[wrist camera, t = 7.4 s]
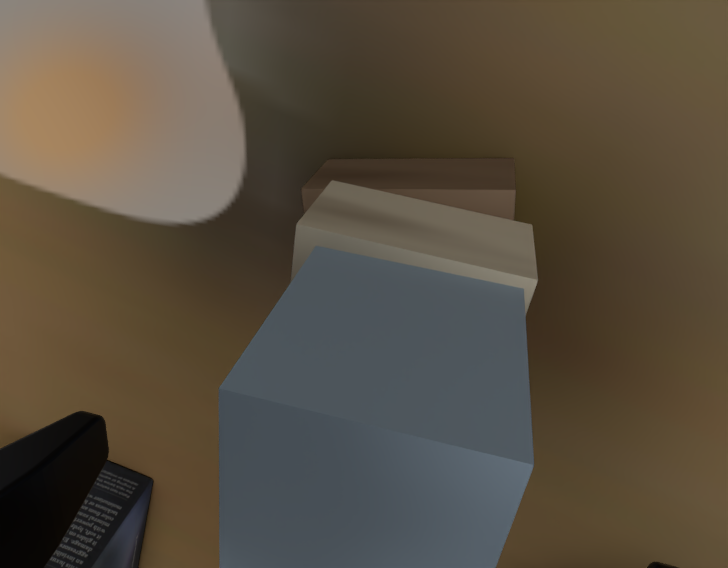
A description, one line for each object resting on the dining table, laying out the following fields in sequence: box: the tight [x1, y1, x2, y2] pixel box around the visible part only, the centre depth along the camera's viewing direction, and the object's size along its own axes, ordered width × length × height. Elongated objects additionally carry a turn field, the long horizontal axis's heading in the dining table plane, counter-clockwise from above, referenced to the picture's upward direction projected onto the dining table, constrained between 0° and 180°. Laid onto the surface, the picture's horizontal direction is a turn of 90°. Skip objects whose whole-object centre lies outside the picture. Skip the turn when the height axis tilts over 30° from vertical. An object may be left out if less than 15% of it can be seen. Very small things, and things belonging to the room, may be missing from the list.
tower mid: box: [290, 180, 538, 316], centre depth 15 cm, size 5×5×3 cm
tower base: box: [301, 158, 516, 221], centre depth 17 cm, size 6×6×3 cm
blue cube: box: [219, 246, 534, 568], centre depth 11 cm, size 4×4×5 cm
